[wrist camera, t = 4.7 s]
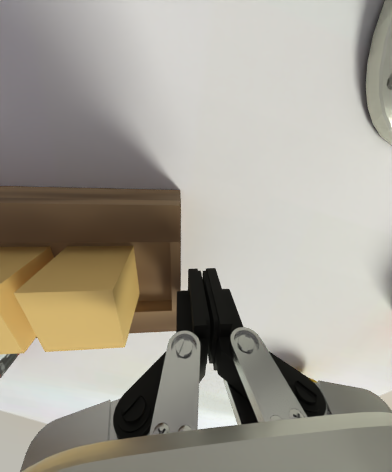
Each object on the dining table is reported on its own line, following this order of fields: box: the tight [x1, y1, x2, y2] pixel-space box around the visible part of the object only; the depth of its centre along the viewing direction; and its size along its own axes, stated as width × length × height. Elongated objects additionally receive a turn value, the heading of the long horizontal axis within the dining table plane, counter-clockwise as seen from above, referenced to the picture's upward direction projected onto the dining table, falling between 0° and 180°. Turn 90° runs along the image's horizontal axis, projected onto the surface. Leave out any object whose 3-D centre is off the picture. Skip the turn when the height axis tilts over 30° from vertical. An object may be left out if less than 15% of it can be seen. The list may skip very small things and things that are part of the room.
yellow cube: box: [14, 246, 140, 352], centre depth 10 cm, size 4×4×4 cm
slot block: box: [0, 186, 181, 338], centre depth 13 cm, size 10×16×4 cm, turn 88°
